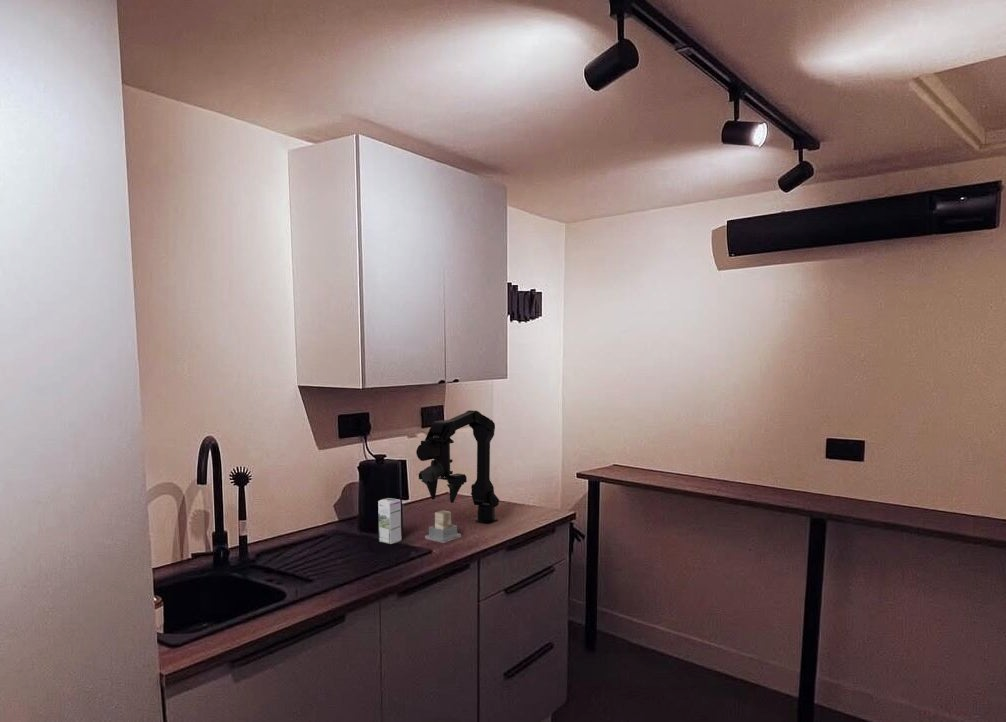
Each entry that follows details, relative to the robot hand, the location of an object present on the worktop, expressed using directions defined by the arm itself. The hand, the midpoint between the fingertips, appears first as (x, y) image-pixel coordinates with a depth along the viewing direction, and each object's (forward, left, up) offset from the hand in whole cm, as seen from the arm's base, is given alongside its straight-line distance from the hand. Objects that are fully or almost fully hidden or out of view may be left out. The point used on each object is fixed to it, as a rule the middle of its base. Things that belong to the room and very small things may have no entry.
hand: (442, 501), depth 215 cm
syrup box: (+14, -12, -13) cm, 23 cm away
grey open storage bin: (0, 0, -13) cm, 13 cm away
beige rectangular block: (0, 0, -12) cm, 12 cm away
